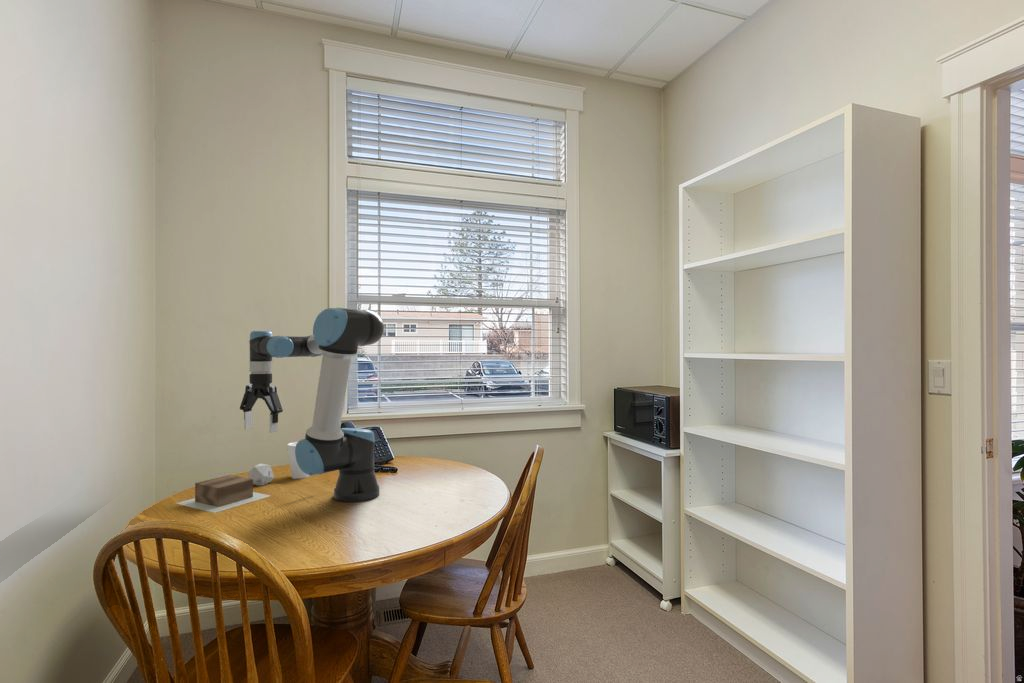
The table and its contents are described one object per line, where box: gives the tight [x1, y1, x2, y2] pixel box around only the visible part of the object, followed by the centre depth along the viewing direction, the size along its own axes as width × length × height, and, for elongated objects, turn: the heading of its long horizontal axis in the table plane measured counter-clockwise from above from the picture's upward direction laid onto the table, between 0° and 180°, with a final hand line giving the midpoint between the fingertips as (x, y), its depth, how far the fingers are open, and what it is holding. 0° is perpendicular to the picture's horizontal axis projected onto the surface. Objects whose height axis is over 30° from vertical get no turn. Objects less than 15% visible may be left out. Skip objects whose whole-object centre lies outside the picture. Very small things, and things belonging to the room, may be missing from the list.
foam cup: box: [287, 441, 310, 480], centre depth 205 cm, size 10×9×13 cm
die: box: [247, 463, 275, 486], centre depth 192 cm, size 8×9×10 cm
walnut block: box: [194, 474, 254, 507], centre depth 172 cm, size 12×12×6 cm
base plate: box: [174, 491, 271, 514], centre depth 172 cm, size 20×20×1 cm
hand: (260, 430), depth 192 cm, fingers open, 13 cm apart
